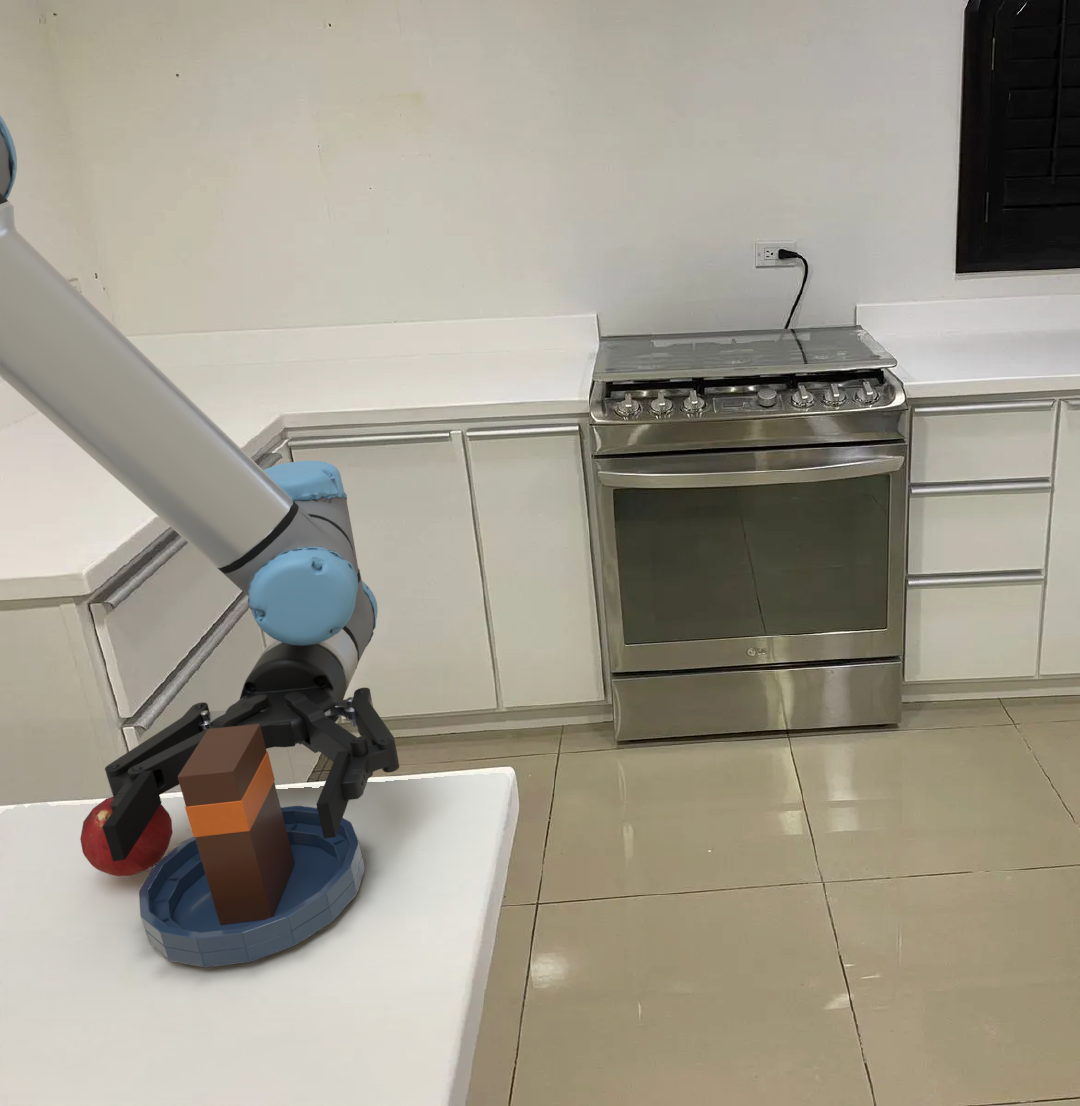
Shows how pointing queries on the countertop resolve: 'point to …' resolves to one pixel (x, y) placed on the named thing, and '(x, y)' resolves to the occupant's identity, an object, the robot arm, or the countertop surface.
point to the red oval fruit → (142, 853)
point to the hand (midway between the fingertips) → (220, 832)
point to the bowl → (198, 938)
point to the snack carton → (237, 823)
